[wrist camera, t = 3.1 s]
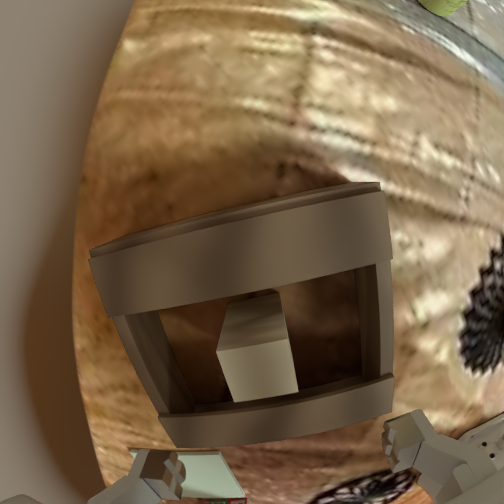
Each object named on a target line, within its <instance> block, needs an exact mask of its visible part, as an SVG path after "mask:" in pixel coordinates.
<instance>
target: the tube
mask: <svg viewBox="0 0 504 504" xmlns="http://www.w3.org/2000/svg"><path fill="white" fill-rule="evenodd" d="M418 1H419V2H420V3H421V4H422V5H423V6H424V7H425V8H426V9H427V10H429V11H431V12H432V13H434V14H436V15H439V16H443V17H446V16H449V15H450V14H452V13H453V12H454V11H455V10H457V9H458V8H459V7H460V6H462V5H463V4H464V3H465V2H467V1H468V0H418Z"/></svg>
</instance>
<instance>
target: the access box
mask: <svg viewBox="0 0 504 504" xmlns="http://www.w3.org/2000/svg"><path fill="white" fill-rule="evenodd" d="M89 252H90V256H91V258H90V259H88V261H89V264H90V267H91V270H92V274H93V277H94V280H95V282H96V285H97V288H98V291H99V294H100V297H101V299H102V302H103V305H104V307H105V310H106V313H107V315H108V318H109V317H112V319H113V321H114V324H115V326H116V328H117V331H118V333H119V335H120V338H121V340H122V342H123V345H124V347H125V349H126V351H127V353H128V356H129V358H130V360H131V362H132V364H133V366H134V368H135V370H136V372H137V374H138V376H139V378H140V380H141V382H142V384H143V386H144V388H145V390H146V392H147V394H148V396H149V397H150V399H151V401H152V403H153V405H154V406H155V408H156V410H157V412H158V413H159V416H158V419H159V421H160V422H161V424H162V426H163V427H164V429H165V431H166V432H167V434H168V435H169V437H170V438H171V440H172V441H173V443H174V445H175V446H176V448H206V447H225V446H238V445H248V444H257V443H265V442H272V441H279V440H285V439H291V438H297V437H302V436H307V435H312V434H316V433H321V432H325V431H330V430H334V429H338V428H341V427H345V426H349V425H352V424H356V423H359V422H363V421H366V420H369V419H372V418H376V417H379V416H382V415H384V414H387V413H390V412H392V403H393V392H394V378H395V377H394V375H393V349H394V319H393V291H392V275H391V263H390V260H391V259H393V256H392V245H391V236H390V228H389V221H388V213H387V207H386V200H385V194H384V191H381V187H380V182H351V183H346V184H341V185H335V186H330V187H325V188H320V189H315V190H310V191H305V192H300V193H295V194H290V195H285V196H281V197H276V198H271V199H267V200H262V201H258V202H253V203H249V204H245V205H240V206H236V207H232V208H228V209H224V210H219V211H215V212H211V213H207V214H203V215H199V216H195V217H191V218H187V219H184V220H180V221H176V222H172V223H168V224H165V225H161V226H157V227H154V228H150V229H147V230H143V231H139V232H136V233H132V234H129V235H125V236H122V237H120V238H117V239H115V240H112V241H110V242H107V243H105V244H103V245H100V246H98V247H96V248H93V249H91V250H89ZM351 269H354V274H355V283H356V292H357V302H358V313H359V325H360V339H361V358H362V374H361V375H358V376H355V377H351V378H347V379H344V380H340V381H336V382H332V383H328V384H324V385H320V386H316V387H311V388H307V389H302V390H298V392H296V393H290V394H285V395H280V396H274V397H268V398H262V399H255V400H248V401H241V402H234V401H228V402H219V403H209V404H197V405H196V404H195V402H194V399H193V397H192V395H191V393H190V391H189V389H188V386H187V384H186V382H185V380H184V377H183V375H182V373H181V371H180V368H179V366H178V364H177V361H176V359H175V356H174V354H173V352H172V349H171V347H170V344H169V342H168V339H167V336H166V334H165V331H164V329H163V326H162V323H161V321H160V318H159V315H158V312H157V310H159V309H165V308H171V307H176V306H182V305H187V304H193V303H198V302H203V301H209V300H214V299H219V298H224V297H229V296H234V295H239V294H244V293H249V292H254V291H259V290H263V289H268V288H273V287H277V286H282V285H287V284H291V283H296V282H300V281H305V280H309V279H313V278H318V277H322V276H326V275H330V274H335V273H339V272H343V271H347V270H351Z"/></svg>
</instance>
